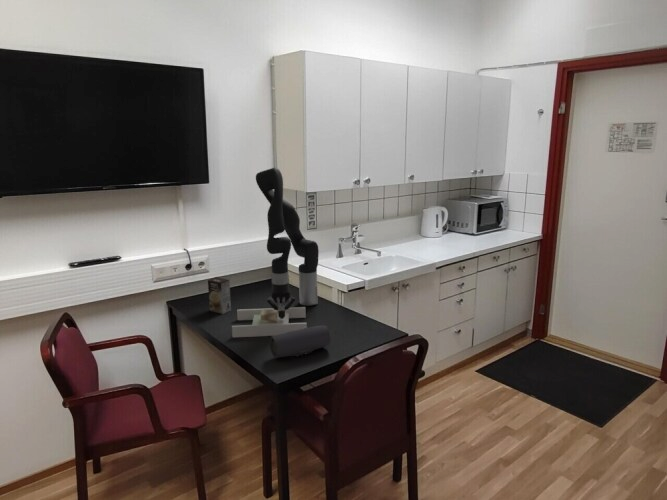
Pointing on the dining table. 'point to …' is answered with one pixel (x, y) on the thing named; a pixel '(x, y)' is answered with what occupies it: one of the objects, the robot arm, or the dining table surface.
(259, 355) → the dining table surface
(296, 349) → the bluetooth speaker
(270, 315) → the birch block
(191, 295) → the dining table surface
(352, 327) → the dining table surface
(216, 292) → the coffee box
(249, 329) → the track
